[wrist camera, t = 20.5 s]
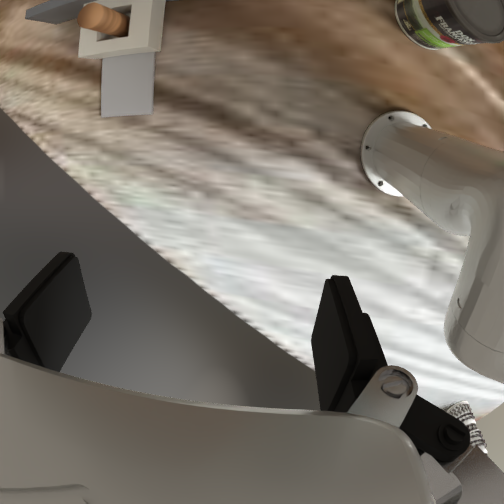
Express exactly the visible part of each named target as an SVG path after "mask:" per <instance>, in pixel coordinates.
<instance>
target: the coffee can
mask: <svg viewBox="0 0 504 504" xmlns="http://www.w3.org/2000/svg"><path fill="white" fill-rule="evenodd" d="M395 16H396V19H397V22H398V24H399V26H400V28H401V29H402V31H403V32H404V33H405V34H406V36H407V37H408V38H409V39H411V40H412V41H413V42H414V43H416V44H417V45H419V46H421V47H423V48H426V49H431V50H438V49H442V48H447V47H454V46H461V45H470V44H479V43H500V42H502V41H504V0H396V1H395Z"/></svg>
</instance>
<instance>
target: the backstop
mask: <svg viewBox="0 0 504 504" xmlns="http://www.w3.org/2000/svg"><path fill="white" fill-rule="evenodd" d="M93 1H97V0H50V1H47V2H45V3H42V4H40V5H37V6H35V7H32V8H30V9H28V10H26V17H25V19H28V20H35V21H41V22H46V23H52V24H59V23H62V22H65V21H69V20H72V19H76V18H78V14H79V12H80V11H81V9H82V8H83V6H84V4H86V3H90V2H93ZM166 1H177V0H166ZM155 56H156V52H148V53H138V54H129V55H121V56H114V57H108V58H103V62H102V85H101V117H113V116H128V115H150V114H153V95H154V72H155Z"/></svg>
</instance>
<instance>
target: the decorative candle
mask: <svg viewBox="0 0 504 504" xmlns="http://www.w3.org/2000/svg"><path fill="white" fill-rule="evenodd" d="M446 412H447V413H448V414H450V415H452V416H454V417H455V418H457V419H459V420H460V421H461V422H463V423H464V424H465V425H466V427H467V428H468V430H469V433H470V444H471V445H472V446H473V447H475V446H476V445H477V446H478V447H479V448H480V449H481V450H482V451H483V452H484V453H485V454H486V455H487V450H486V449H485V448H486V446H487V445H486V444H485V440H484V439H482V438H483V436H482V435H481V431H480V430H479V429H477V426H476V422H475V419H474V418H475V417H474V416H473V413H472V412H471V408H470V405H469V404H468V402H467V401H461V402H458V403H456V404H455V405H453V406H452V407H450V408H449V409H448V410H447V411H446ZM487 456H488V455H487Z"/></svg>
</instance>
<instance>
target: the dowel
mask: <svg viewBox="0 0 504 504" xmlns="http://www.w3.org/2000/svg"><path fill="white" fill-rule="evenodd" d="M77 22H78V25H79V26H80V27H82V28H85V29H89V30H93V31H97V32H101V33H105V34H108V35H112V36H116V37H119V38H121V37H128V36H129V25H130V17H129V16H126V15H124V14H122V13H120V12H117V11H115V10H113V9H110V8H108V7H106V6H103V5H101V4H98V3H95V2H93V3H89V4H87V5H86V6H84V7H83V8H82V9H81V11H80V12H79V14H78V18H77Z"/></svg>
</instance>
